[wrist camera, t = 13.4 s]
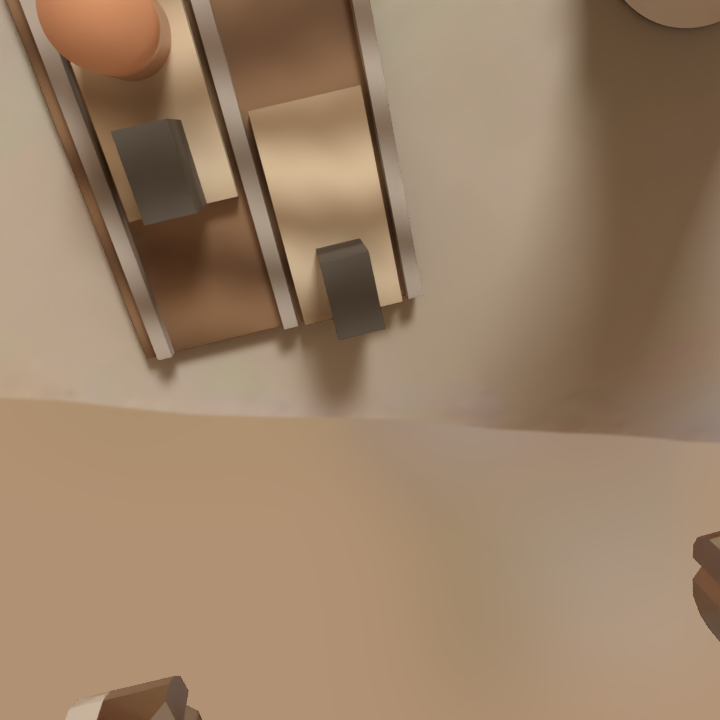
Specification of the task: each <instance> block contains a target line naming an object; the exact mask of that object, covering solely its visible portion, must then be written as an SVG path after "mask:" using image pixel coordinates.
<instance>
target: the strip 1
mask: <svg viewBox="0 0 720 720" xmlns="http://www.w3.org/2000/svg"><path fill="white" fill-rule="evenodd" d="M157 1H158V2H159V3H160V5H161V6H162V8H163V9H164V11H165V14H166V16H167V18H168V21H169V25H170V29H171V48H170V52H169V55H168V58H167V60H166V62H165V64H164V65H163V66H162V68H161V69H160V70H159V71H158V72H157V73H155V74H154V75H152V76H151V77H149V78H147V79H143V80H139V81H126V80H121V79H117V78H114V77H111V76H107V75H104V74H101V73H98V72H94V71H91V70H88V69H84V68H82V67H80V66H77V65H75V64H74V63H72V62H70V63H71V65H72V68H73V71H74V74H75V76H76V79H77V82H78V84H79V87H80V90H81V93H82V95H83V98H84V101H85V103H86V106H87V109H88V112H89V114H90V117H91V120H92V122H93V125H94V128H95V131H96V133H97V136H98V139H99V141H100V144H101V147H102V150H103V152H104V155H105V158H106V160H107V163H108V166H109V169H110V171H111V174H112V177H113V179H114V182H115V185H116V188H117V190H118V193H119V196H120V198H121V201H122V204H123V207H124V209H125V212H126V215H127V217H128V220H129V222H132V221H136V220H140V219H142V221H143V223H144V226H145V225H149V224H153V223H157V222H162V221H166V220H170V219H174V218H178V217H183V216H187V215H191V214H195V213H198V212H199V211H200V210H201V209H202V208H203V207H204V206H205V205H206V204H207V203H212V202H216V201H220V200H224V199H229V198H233V197H237V196H238V195H239V193H238V189H237V186H236V182H235V179H234V175H233V172H232V169H231V165H230V162H229V158H228V155H227V151H226V148H225V144H224V141H223V137H222V134H221V130H220V127H219V124H218V120H217V117H216V113H215V110H214V106H213V103H212V99H211V96H210V92H209V89H208V85H207V82H206V79H205V75H204V72H203V68H202V65H201V61H200V58H199V54H198V51H197V47H196V44H195V40H194V37H193V34H192V30H191V27H190V23H189V20H188V16H187V13H186V9H185V6H184V2H183V0H157Z"/></svg>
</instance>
